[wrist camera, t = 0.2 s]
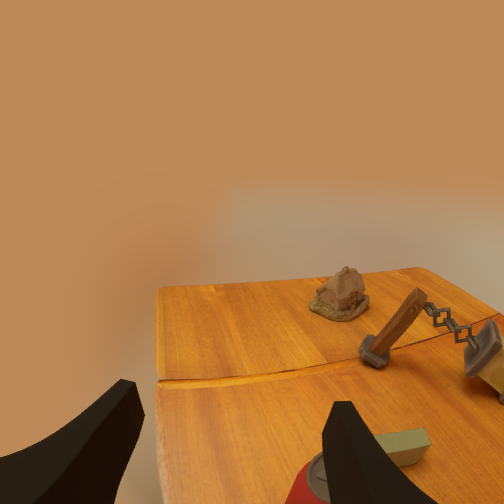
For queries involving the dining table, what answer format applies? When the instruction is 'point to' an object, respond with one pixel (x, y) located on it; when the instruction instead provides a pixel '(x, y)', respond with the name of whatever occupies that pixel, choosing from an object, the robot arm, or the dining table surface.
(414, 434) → the ceramic block
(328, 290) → the ceramic model
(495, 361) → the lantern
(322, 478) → the beer can
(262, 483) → the dining table surface
